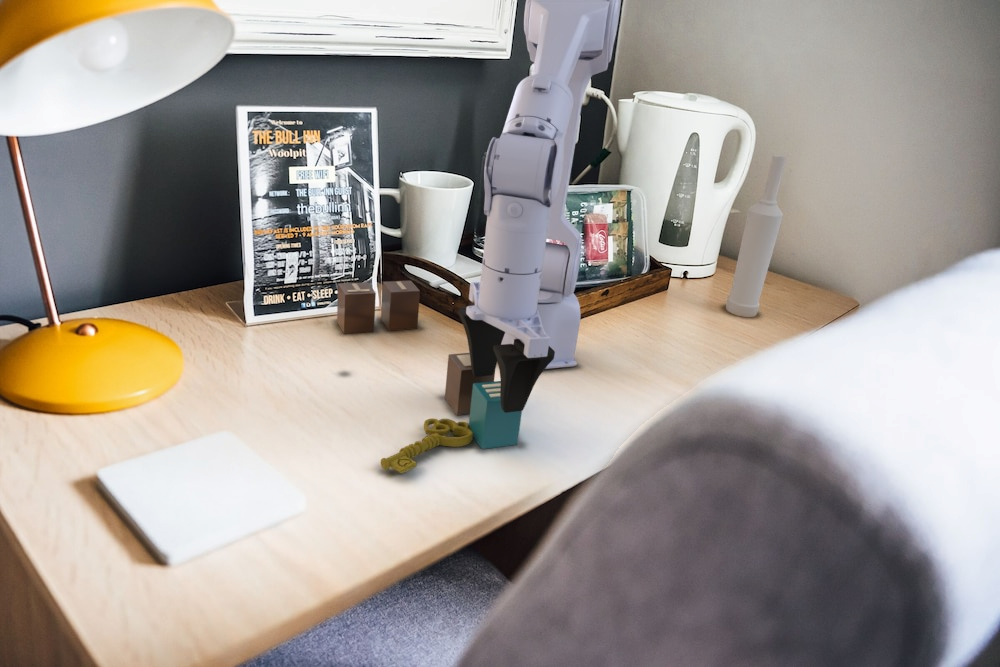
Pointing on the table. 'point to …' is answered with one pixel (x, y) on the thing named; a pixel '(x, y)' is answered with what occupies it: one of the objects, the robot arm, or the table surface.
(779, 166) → the bottle
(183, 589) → the table surface
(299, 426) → the table surface
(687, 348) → the table surface
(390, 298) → the tile
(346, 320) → the tile
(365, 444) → the table surface
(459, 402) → the brown tall block
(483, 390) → the teal rectangular block
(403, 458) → the key
